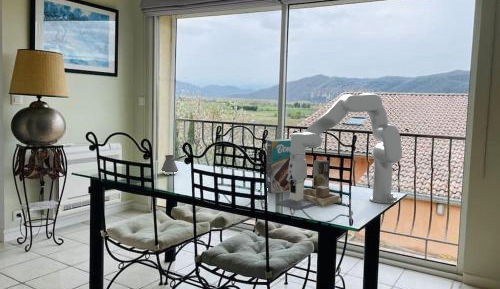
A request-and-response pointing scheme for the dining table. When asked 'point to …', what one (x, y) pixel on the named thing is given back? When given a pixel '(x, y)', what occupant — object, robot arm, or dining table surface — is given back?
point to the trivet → (296, 203)
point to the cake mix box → (278, 165)
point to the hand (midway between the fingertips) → (296, 191)
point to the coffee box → (320, 173)
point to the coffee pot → (170, 164)
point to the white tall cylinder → (298, 190)
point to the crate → (319, 201)
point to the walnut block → (322, 192)
